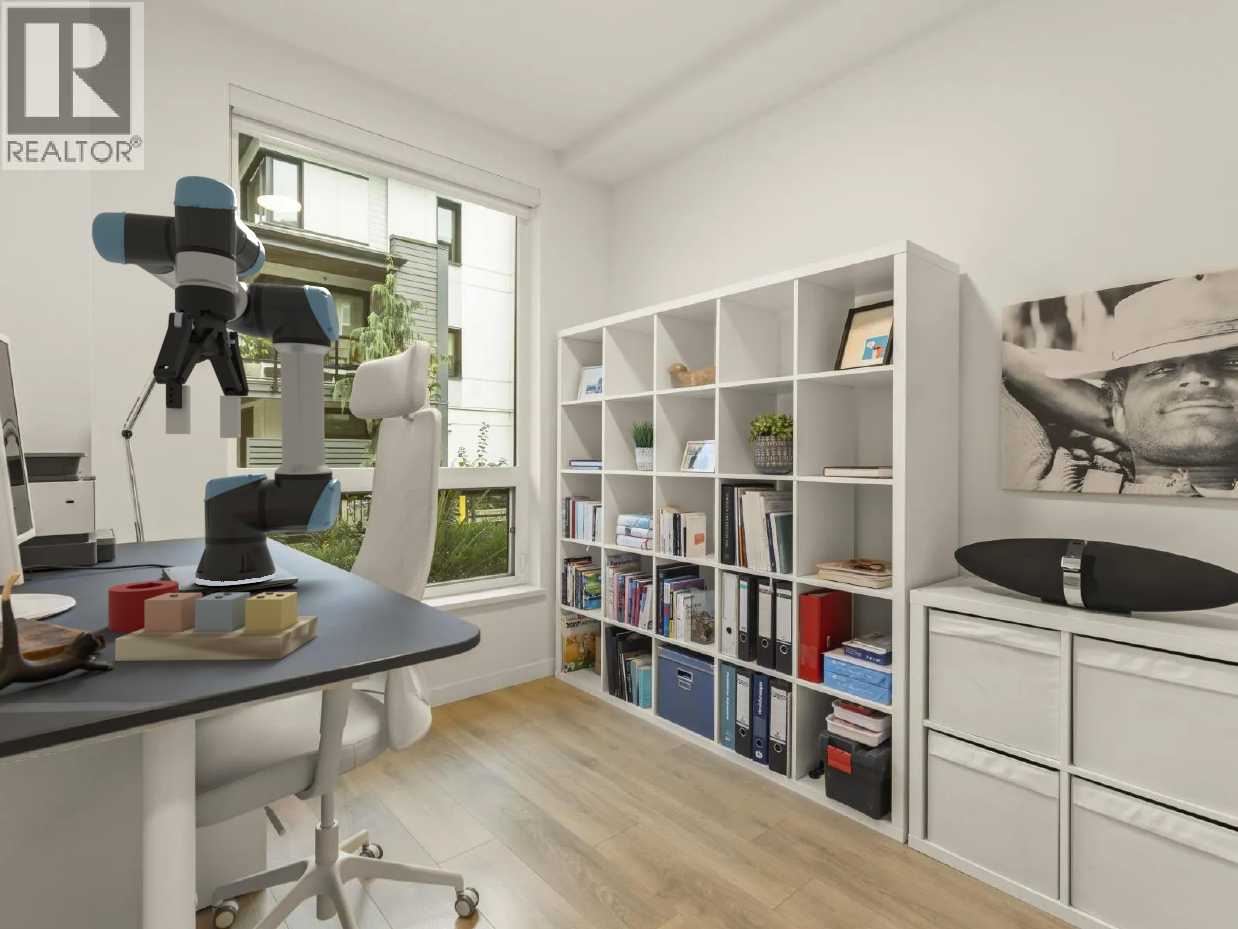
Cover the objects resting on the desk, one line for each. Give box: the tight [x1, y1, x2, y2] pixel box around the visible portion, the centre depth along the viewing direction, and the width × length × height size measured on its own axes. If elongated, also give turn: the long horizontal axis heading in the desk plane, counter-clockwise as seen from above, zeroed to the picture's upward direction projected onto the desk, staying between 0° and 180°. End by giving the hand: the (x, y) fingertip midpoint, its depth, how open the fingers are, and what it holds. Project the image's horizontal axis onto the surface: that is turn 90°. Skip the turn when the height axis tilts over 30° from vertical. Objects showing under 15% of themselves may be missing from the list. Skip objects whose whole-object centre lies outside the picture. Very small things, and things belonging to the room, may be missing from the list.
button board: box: [114, 615, 319, 662], centre depth 94 cm, size 12×22×3 cm, turn 92°
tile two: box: [195, 591, 251, 632], centre depth 94 cm, size 5×5×5 cm
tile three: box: [246, 591, 298, 632], centre depth 94 cm, size 5×5×5 cm
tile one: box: [144, 592, 203, 633], centre depth 94 cm, size 5×5×5 cm
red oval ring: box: [107, 580, 180, 633], centre depth 111 cm, size 18×9×7 cm, turn 18°
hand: (206, 436), depth 94 cm, fingers open, 13 cm apart
